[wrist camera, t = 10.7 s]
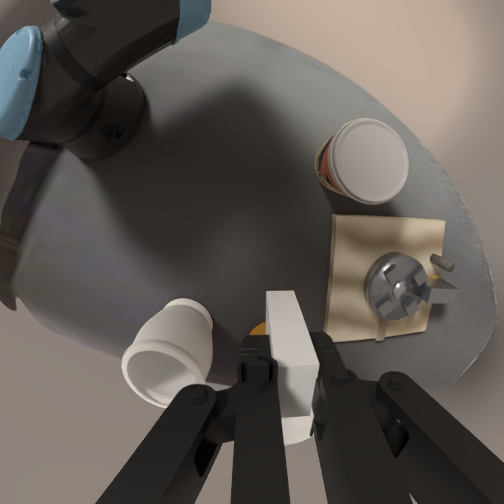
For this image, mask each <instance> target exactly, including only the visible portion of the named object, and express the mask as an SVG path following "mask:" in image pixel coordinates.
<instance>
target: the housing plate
mask: <svg viewBox="0 0 504 504" xmlns="http://www.w3.org/2000/svg"><path fill="white" fill-rule="evenodd" d="M444 230H445V221H442V220H438V219H424V218H409V217H391V216H371V215H345V214H333V217H332V238H331V255H330V268H329V280H328V291H327V301H326V310H325V319H324V327H323V332H325V333H327V334H328V335H329V336H330V337H331V338H332V340H333V342H341V341H352V340H362V339H371V338H376V341H380V340H384V338H385V337H387V336H395V335H402V334H408V333H415V332H421V331H425V329H426V326H427V322H428V318H429V314H430V310H431V306H432V303H426V302H425V301H424V300H421V302H420V304H419V305H418V307H419V310H418V311H417V312H416V313H415V314H413V315H412V316H411V317H409V316H406V317H404V318H402V319H399V320H394V321H389V320H385V319H382V318H381V317H379V316H378V315H377V314H376V313H375V312H374V311H373V309H372V308H371V307H370V306H369V305H368V303H367V302H366V300H365V297H364V291H363V287H364V280H365V277H366V274H367V272H368V270H369V269H370V267H371V266H372V264H373V263H374V262H375V261H376V260H377V259H378V258H380V257H381V256H383V255H385V254H387V253H390V252H402V253H405V254H407V255H408V256H410V257H412V258H414V259H416V260H417V261H419V262H420V263H421V264H422V266H423V267H424V269H425V272H426V274H427V276H428V278H432V279H440V276H441V275H438V273H439V267H441V268H442V269H444V270H446V271H448V272H451V271H453V269H454V263H453V262H451V261H449V260H447V259H445V258H443V257H441V254H442V247H443V239H444Z"/></svg>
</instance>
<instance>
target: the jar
mask: <svg viewBox="0 0 504 504" xmlns="http://www.w3.org/2000/svg"><path fill="white" fill-rule="evenodd" d="M212 329H213V322H212V318H211V316H210V314H209V312H208V311H207V310H206V308H205V307H204V306H202V305H201V304H200V303H198V302H196V301H194V300H191V299H186V298H180V299H175V300H173V301H171V302H169V303H168V304H167V305H166V306H165V308H164V309H163V310H161V311H160V312H158V313H157V314H156V315H155V316H153V317H152V318H151V319H149V320H148V321H147V322H146V323H145V324H144V326H143V327H142V328H141V329H140V331H139V333H138V334H137V336H136V338H135V340H134V343H133V344H132V345H131V346H130V347H129V348H128V349H127V350H126V351H125V353H124V355H123V358H122V362H121V367H122V372H123V375H124V378H125V379H126V381H127V383H128V384H129V386H130V387H131V388H132V389H133V390H134V391H135V392H136V393H137V394H138V395H139V396H140V397H142V398H143V399H145V400H146V401H148V402H150V403H152V404H154V405H157V406H159V407H163V408H167V407H168V405H169V404H170V403H171V401H172V400H173V398H174V397H175V396H176V394H177V393H178V392H179V391H180V390H181V389H182V388H183V387H185V386H188V385H191V384H204V385H206V378H207V375H208V373H209V370H210V367H211V363H212V356H213V345H212Z"/></svg>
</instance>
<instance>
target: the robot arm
mask: <svg viewBox="0 0 504 504" xmlns="http://www.w3.org/2000/svg"><path fill="white" fill-rule="evenodd" d="M51 3H52V5H53V6H54V7H55V8H56V9H57V10H58V11H59V13H58V14H57V15H56V16H54V17H53V18H52V19H51V20H50V21H49V22H48V23H46V24H45V25H44V26H43V27H42V28H41V29H39V27H37V26H26V27H23V28H22V29H20V30H18V31H16V32H15V33H14V34H13V35H12V36H11V37H10V38H9V39H8V40H7V41H6V42H5V44H4V45H3V46H2V48H1V49H0V137H5V138H7V139H9V140H29V141H41V142H52V143H60V144H61V145H63V146H64V147H65V148H66V149H68V150H69V151H70V152H71V153H73V154H74V155H76V156H78V157H81V158H86V159H102V158H106V157H108V156H111V155H113V154H114V153H116V152H117V151H119V150H120V149H121V148H123V147H124V146H125V145H126V144H127V143H128V142H129V140H130V139H131V138H132V136H133V135H134V133H135V132H136V130H137V128H138V126H139V124H140V121H141V119H142V115H143V111H144V94H143V90H142V87H141V85H140V84H139V82H138V81H137V80H136V79H135V78H134V77H133V76H132V75H130V74H129V73H128V72H127V71H128V70H130V69H131V68H133V67H134V66H136V65H137V64H139V63H140V62H142V61H144V60H145V59H147V58H149V57H150V56H152V55H154V54H155V53H157V52H159V51H161V50H162V49H164V48H166V47H168V46H170V45H174V44H176V43H178V42H179V40H180V39H182V38H184V37H185V36H187V35H189V34H191V33H193V32H195V31H197V30H199V29H200V28H202V27H203V26H204V25H205V24H206V23H207V21H208V19H209V17H210V13H211V0H51ZM237 373H238V382H237V383H236V384H235V385H234V386H232V387H230V388H228V389H225V390H221V391H215V390H214V389H212V388H211V387H209V386H207V385H204V384H191V385H188V386H185V387H183V388H182V389H181V390H180V391H179V392H178V393H177V394H176V396H175V397H174V398H173V400H172V401H171V403H170V404H169V405H168V407H167V408H166V410H165V411H164V412H163V414H162V415H161V416H160V418H159V419H158V421H157V422H156V423H155V425H154V426H153V428H152V429H151V431H150V432H149V433H148V434H147V436H146V437H145V438H144V440H143V441H142V442H141V444H140V445H139V446H138V448H137V449H136V450H135V452H134V453H133V455H132V456H131V457H130V458H129V460H128V461H127V463H126V464H125V465H124V466H123V468H122V469H121V470H120V472H119V473H118V475H117V476H116V477H115V478H114V480H113V481H112V482H111V484H110V485H109V486H108V487H107V489H106V490H105V491H104V493H103V494H102V496H101V497H100V498H99V500H97V502H96V503H95V504H194V503H195V501H196V499H197V497H198V495H199V493H200V491H201V489H202V487H203V485H204V483H205V481H206V479H207V476H208V474H209V472H210V470H211V468H212V466H213V464H214V462H215V459H216V457H217V455H218V453H219V451H220V448H221V446H222V443H225V442H229V441H234V455H233V470H232V487H231V504H290V496H289V487H288V476H287V467H286V457H285V447H284V438H283V429H282V420H281V418H288V417H302V416H310V414H311V409H312V410H313V415H314V417H313V421H312V426H311V430H310V437H312V436H313V432H314V437H315V441H316V446H317V451H318V456H319V461H320V466H321V470H322V476H323V481H324V486H325V491H326V496H327V501H328V504H413V503H412V500H411V497H410V495H409V493H410V494H411V496H412V497H413V498H414V499H415V501H416V502H417V503H418V504H504V463H503V462H502V461H501V460H500V459H499V458H498V457H497V456H496V455H495V454H493V453H492V452H491V451H490V450H489V449H488V448H487V447H486V446H485V445H484V444H482V442H481V441H479V440H478V439H477V438H476V437H475V436H474V435H473V434H472V433H471V432H470V431H469V430H467V429H466V428H465V427H464V426H463V425H462V424H461V423H460V422H459V421H458V420H456V419H455V418H454V417H453V416H452V415H451V414H450V413H449V412H448V411H447V410H445V409H444V408H443V407H442V406H441V405H440V404H439V403H438V402H437V401H435V400H434V399H433V398H432V397H431V396H430V395H429V394H428V393H427V392H425V391H424V390H423V389H422V388H421V387H420V386H419V385H418V384H417V383H415V382H414V381H413V380H412V379H411V378H410V377H409V376H407V375H406V374H404V373H401V372H395V371H391V372H386V373H384V374H383V375H381V377H380V379H379V381H366V380H360V379H358V377H357V376H356V374H355V373H354V372H353V371H351V370H349V369H346V368H345V366H344V363H343V361H342V359H341V357H340V355H339V353H338V350H337V348H336V346H335V345H334V342H333V340H332V338H331V337H330V336H329V335H328V334H327V333H325V332H308V329H307V327H306V324H305V321H304V318H303V315H302V312H301V310H300V307H299V304H298V301H297V299H296V296H295V293H294V291H266V335H247V336H246V337H245V338H244V339H243V341H242V352H241V360H240V361H239V362H238V365H237ZM397 419H398V420H399V421H400V422H401V423H400V422H399V421H398V420H397Z"/></svg>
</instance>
